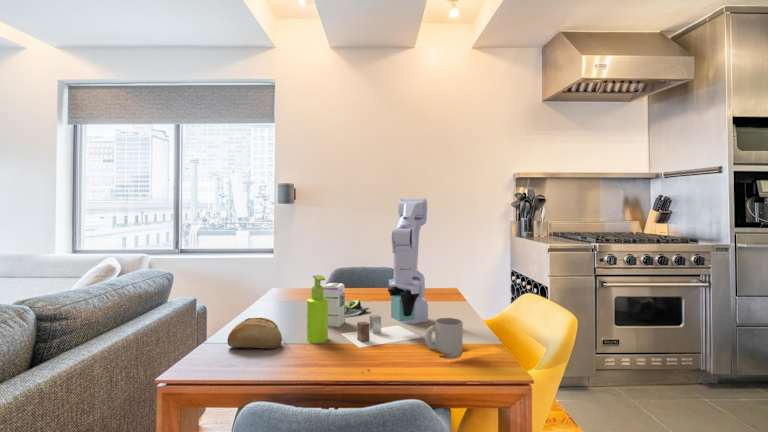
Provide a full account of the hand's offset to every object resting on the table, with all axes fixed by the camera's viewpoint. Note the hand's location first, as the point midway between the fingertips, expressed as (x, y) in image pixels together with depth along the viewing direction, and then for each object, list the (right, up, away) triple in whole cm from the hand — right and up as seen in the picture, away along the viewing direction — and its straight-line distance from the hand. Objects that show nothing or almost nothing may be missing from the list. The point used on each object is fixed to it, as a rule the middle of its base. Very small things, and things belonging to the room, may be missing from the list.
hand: (402, 313), depth 122 cm
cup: (+10, -8, -13) cm, 18 cm away
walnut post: (-12, -6, -6) cm, 14 cm away
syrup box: (-22, -8, +11) cm, 26 cm away
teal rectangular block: (0, -2, 0) cm, 2 cm away
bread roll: (-42, -8, -7) cm, 43 cm away
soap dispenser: (-25, -8, -6) cm, 27 cm away
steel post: (-8, -6, +2) cm, 11 cm away
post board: (-7, -8, -1) cm, 10 cm away
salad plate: (-21, -8, +32) cm, 39 cm away
